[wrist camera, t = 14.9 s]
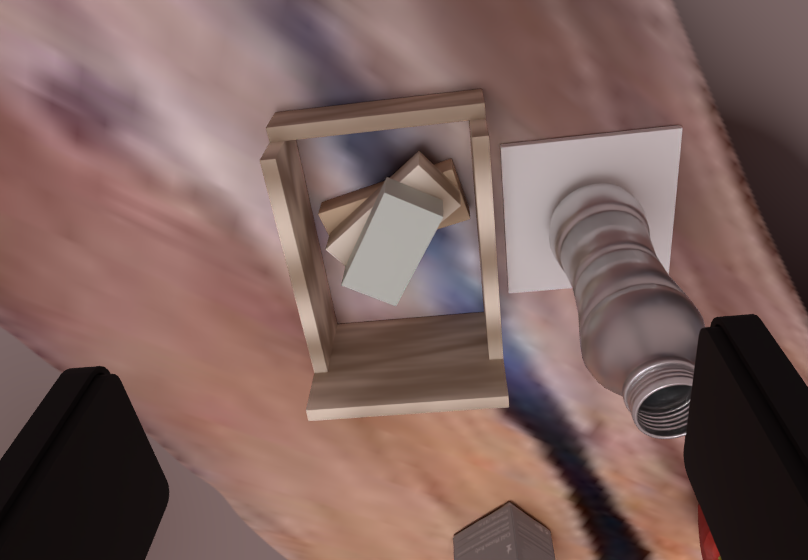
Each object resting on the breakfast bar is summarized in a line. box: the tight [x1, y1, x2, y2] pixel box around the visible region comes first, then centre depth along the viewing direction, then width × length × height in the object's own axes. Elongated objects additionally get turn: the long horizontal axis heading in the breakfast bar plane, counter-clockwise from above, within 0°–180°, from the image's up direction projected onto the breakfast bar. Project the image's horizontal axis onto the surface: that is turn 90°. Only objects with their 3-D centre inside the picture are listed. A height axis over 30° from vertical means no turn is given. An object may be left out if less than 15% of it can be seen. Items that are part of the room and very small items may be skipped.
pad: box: [500, 125, 682, 293], centre depth 49 cm, size 12×12×1 cm
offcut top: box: [341, 177, 443, 306], centre depth 45 cm, size 4×8×2 cm, turn 156°
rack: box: [260, 89, 509, 421], centre depth 46 cm, size 19×14×10 cm
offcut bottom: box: [318, 159, 470, 235], centre depth 49 cm, size 4×10×2 cm, turn 111°
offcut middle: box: [325, 151, 461, 266], centre depth 47 cm, size 4×9×2 cm, turn 135°
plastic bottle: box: [549, 183, 705, 439], centre depth 40 cm, size 6×7×20 cm
